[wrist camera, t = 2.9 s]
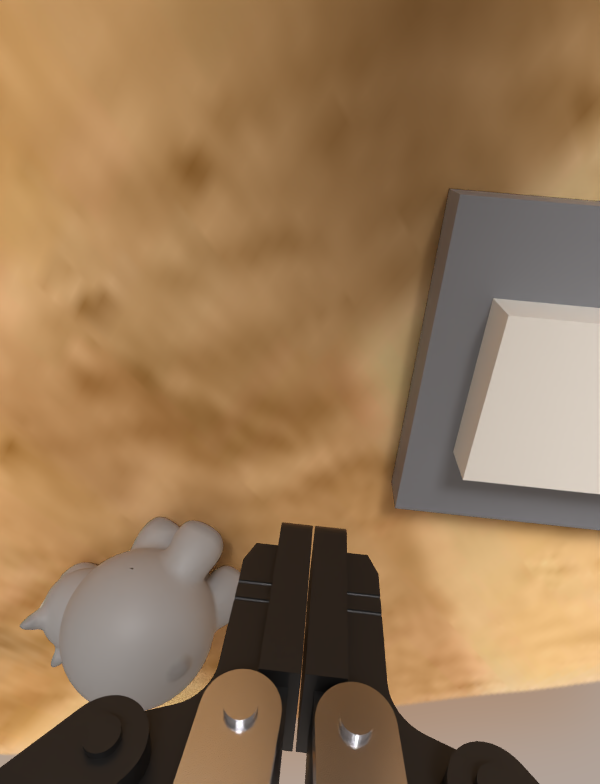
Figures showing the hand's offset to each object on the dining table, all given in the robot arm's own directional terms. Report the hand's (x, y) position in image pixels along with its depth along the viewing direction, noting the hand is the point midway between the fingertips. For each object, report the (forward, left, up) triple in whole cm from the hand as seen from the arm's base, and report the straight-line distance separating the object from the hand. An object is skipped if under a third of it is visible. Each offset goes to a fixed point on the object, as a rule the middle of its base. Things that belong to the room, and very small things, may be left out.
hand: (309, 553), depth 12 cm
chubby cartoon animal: (+14, -9, -12) cm, 21 cm away
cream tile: (0, +11, -9) cm, 14 cm away
